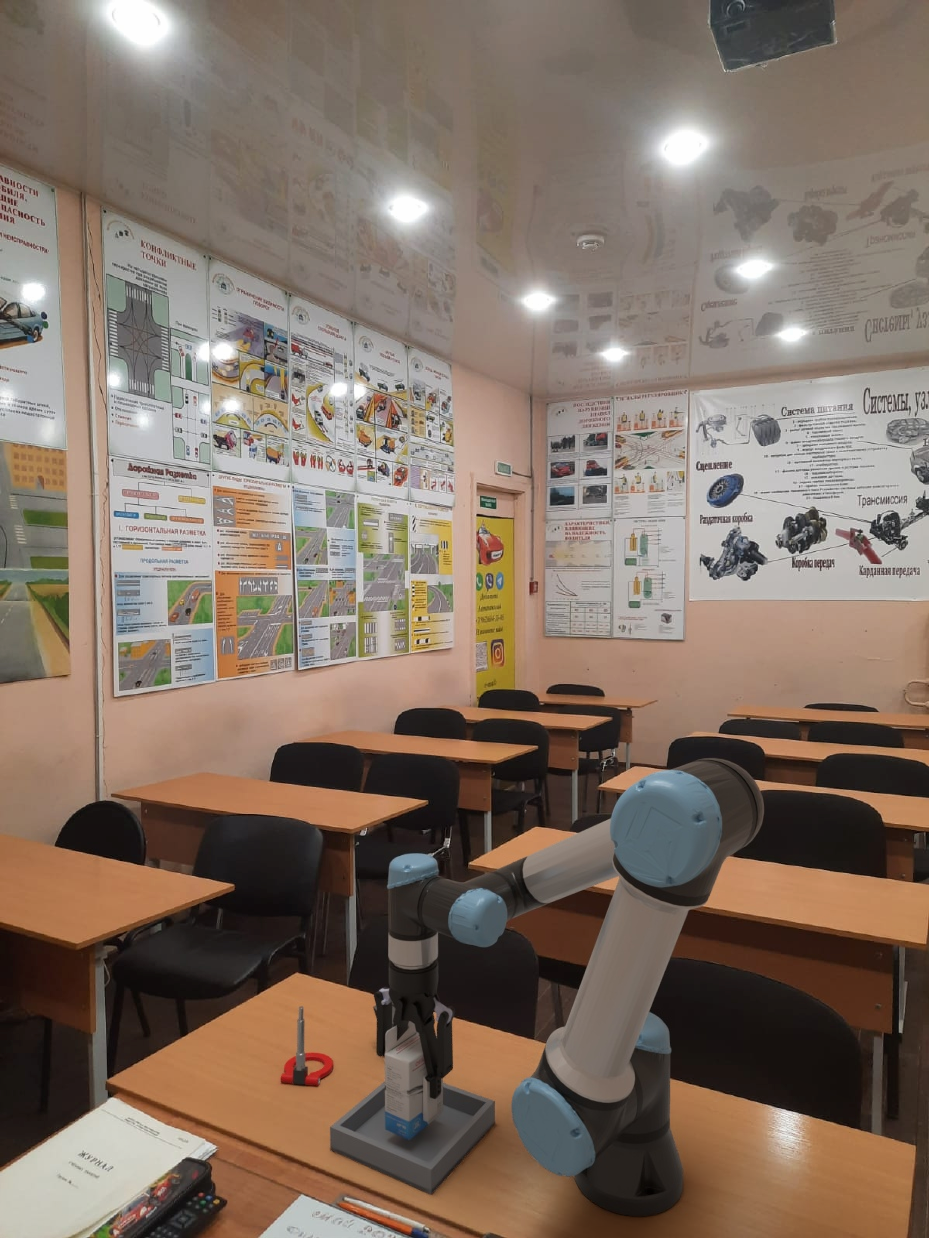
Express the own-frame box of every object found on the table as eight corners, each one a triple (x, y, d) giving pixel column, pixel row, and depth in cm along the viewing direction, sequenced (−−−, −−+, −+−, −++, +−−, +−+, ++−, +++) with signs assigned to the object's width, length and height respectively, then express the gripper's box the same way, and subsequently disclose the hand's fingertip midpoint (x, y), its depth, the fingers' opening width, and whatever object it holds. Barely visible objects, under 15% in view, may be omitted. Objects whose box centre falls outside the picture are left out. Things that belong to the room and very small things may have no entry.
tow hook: (294, 1056, 148) (274, 1084, 139) (295, 984, 148) (275, 1007, 139) (339, 1060, 147) (322, 1088, 138) (340, 987, 147) (323, 1010, 138)
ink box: (409, 1142, 120) (408, 1042, 120) (383, 1129, 123) (383, 1032, 123) (444, 1112, 127) (443, 1018, 127) (419, 1101, 130) (419, 1009, 130)
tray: (494, 1122, 128) (494, 1100, 128) (431, 1194, 113) (431, 1169, 113) (401, 1088, 137) (400, 1067, 137) (330, 1149, 122) (330, 1126, 122)
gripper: (477, 963, 123) (478, 1115, 123) (380, 937, 132) (381, 1079, 133) (451, 983, 116) (451, 1144, 117) (350, 954, 126) (351, 1104, 126)
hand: (414, 1109), depth 125 cm, fingers closed on ink box, 5 cm apart
